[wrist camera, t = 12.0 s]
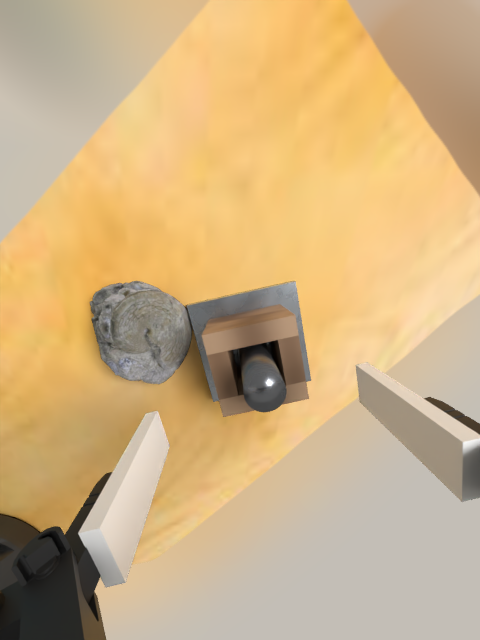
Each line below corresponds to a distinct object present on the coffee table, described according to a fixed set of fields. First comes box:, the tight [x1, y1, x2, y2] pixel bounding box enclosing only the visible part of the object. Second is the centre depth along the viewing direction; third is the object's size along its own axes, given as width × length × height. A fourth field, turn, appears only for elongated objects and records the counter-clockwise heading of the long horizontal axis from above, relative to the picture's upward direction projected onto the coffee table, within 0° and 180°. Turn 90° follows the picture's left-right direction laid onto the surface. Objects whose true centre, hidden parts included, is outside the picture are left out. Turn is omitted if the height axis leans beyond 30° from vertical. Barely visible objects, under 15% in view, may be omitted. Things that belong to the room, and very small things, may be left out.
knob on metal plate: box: [187, 281, 311, 412], centre depth 21 cm, size 12×12×11 cm
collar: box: [202, 304, 309, 417], centre depth 22 cm, size 8×8×6 cm
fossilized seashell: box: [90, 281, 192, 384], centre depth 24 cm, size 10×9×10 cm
